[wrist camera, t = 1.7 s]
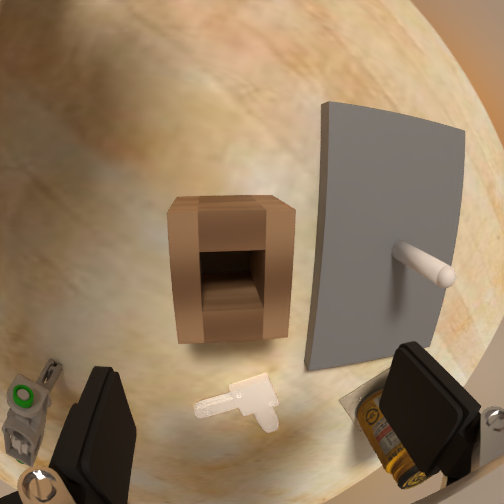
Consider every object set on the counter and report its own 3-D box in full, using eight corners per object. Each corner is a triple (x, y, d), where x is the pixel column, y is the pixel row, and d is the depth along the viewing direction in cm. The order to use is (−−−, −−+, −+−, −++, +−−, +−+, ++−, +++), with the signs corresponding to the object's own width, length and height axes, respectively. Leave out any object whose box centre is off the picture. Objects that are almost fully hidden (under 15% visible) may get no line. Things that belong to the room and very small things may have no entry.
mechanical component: (78, 335, 23) (37, 414, 14) (61, 401, 25) (33, 472, 16) (50, 319, 22) (-1, 391, 13) (37, 389, 24) (5, 456, 15)
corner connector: (218, 438, 30) (219, 448, 28) (187, 393, 27) (186, 405, 26) (286, 417, 30) (290, 427, 29) (265, 368, 28) (268, 379, 26)
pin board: (321, 104, 21) (379, 84, 13) (454, 130, 23) (521, 134, 15) (304, 361, 27) (335, 424, 20) (422, 339, 29) (466, 382, 22)
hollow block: (176, 197, 21) (167, 212, 16) (272, 195, 22) (295, 209, 17) (182, 300, 24) (178, 343, 18) (268, 296, 25) (287, 337, 19)
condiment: (359, 430, 33) (398, 500, 22) (338, 399, 30) (383, 483, 19) (407, 399, 33) (455, 462, 21) (394, 362, 30) (454, 435, 18)
